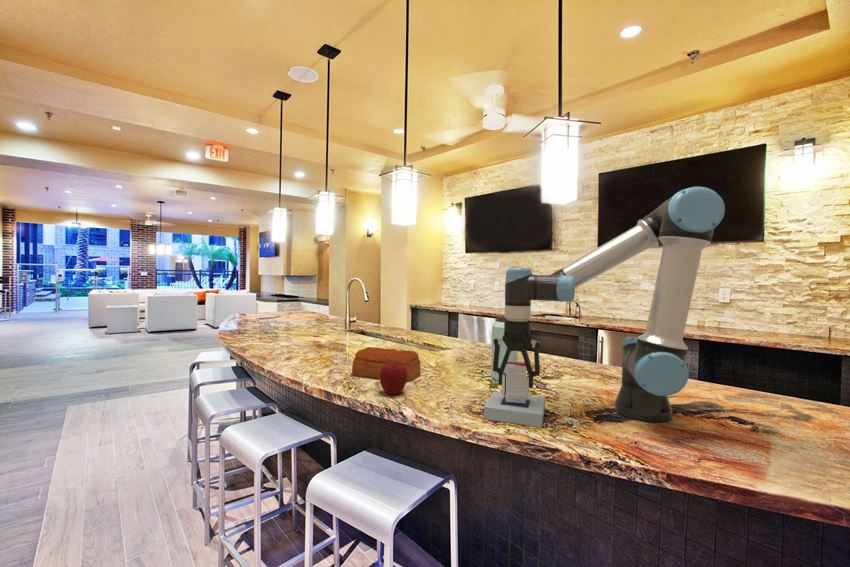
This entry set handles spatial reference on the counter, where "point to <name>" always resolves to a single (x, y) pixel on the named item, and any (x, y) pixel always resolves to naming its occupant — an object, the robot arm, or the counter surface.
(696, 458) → the counter surface
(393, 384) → the apple
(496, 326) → the water bottle
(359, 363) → the bread
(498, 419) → the socket block
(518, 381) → the supplement box
